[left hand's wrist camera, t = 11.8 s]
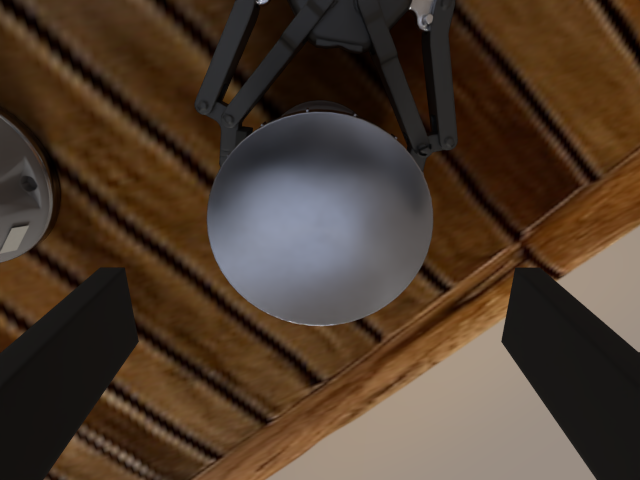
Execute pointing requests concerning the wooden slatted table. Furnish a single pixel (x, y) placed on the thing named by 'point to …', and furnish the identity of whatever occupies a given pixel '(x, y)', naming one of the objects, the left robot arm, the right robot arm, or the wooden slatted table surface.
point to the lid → (320, 217)
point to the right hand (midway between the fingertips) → (313, 224)
